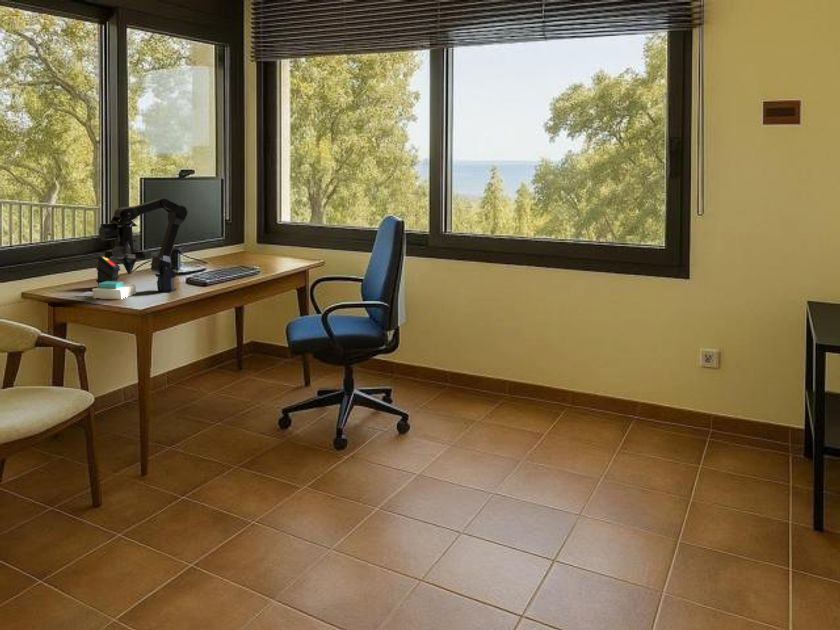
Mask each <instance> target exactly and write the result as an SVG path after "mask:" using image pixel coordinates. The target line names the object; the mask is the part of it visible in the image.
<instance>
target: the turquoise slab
mask: <svg viewBox="0 0 840 630" xmlns="http://www.w3.org/2000/svg"><path fill="white" fill-rule="evenodd" d="M124 284H125V283H124V281H123V280H121V281H119V280H118V281H105V282H102V283H99V288H108V289H117V288H120V287H123V286H124Z"/></svg>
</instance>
